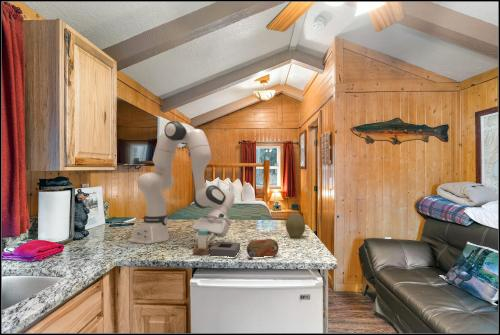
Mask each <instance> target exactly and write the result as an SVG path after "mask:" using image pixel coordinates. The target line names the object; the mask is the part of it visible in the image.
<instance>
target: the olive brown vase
mask: <svg viewBox="0 0 500 335" xmlns="http://www.w3.org/2000/svg"><path fill="white" fill-rule="evenodd" d="M285 229H286V232H287V234H288V235H289V236H290V237H292V238H295V239H297V238H298V239H299V238H300V237H302V236H303V234H304V233H305V230H306V223H305V219H304V217H303V216H302V214H301V213H299V212H297V211H296V212H291V213H290V214H289V215H288V216H287V218H286V221H285Z"/></svg>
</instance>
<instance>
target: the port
mask: <svg viewBox="0 0 500 335" xmlns="http://www.w3.org/2000/svg"><path fill="white" fill-rule="evenodd" d="M212 245H213V246H212V247H211V248H210V255H209V257H210V256H227V257H228V256H229V257H235V256H236V255H237V253H238V252H239V250H240V251H241V242H236V241H235V242H233V241H231V242H230V241H216V242H215V243H214V244H212ZM239 253H240V252H239ZM237 256H238V255H237Z"/></svg>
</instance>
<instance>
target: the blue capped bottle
mask: <svg viewBox="0 0 500 335" xmlns="http://www.w3.org/2000/svg"><path fill="white" fill-rule="evenodd" d="M197 233H198V240H197V245H198V248H199V249H208V248H209V245H210V243H207V242H206V240H207V238H209V237H210V235H209V232H208V230H206V229H201V230H199V231H198V232H197Z"/></svg>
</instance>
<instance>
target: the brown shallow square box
mask: <svg viewBox="0 0 500 335" xmlns="http://www.w3.org/2000/svg"><path fill="white" fill-rule="evenodd" d="M213 245H214V244H209V248H208V249H199V248H198V244H197V245H196V246H195V247H193V248H192V255H193V256H200V255H209V254H210V248H211V247H212V246H213ZM209 256H210V255H209Z"/></svg>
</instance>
